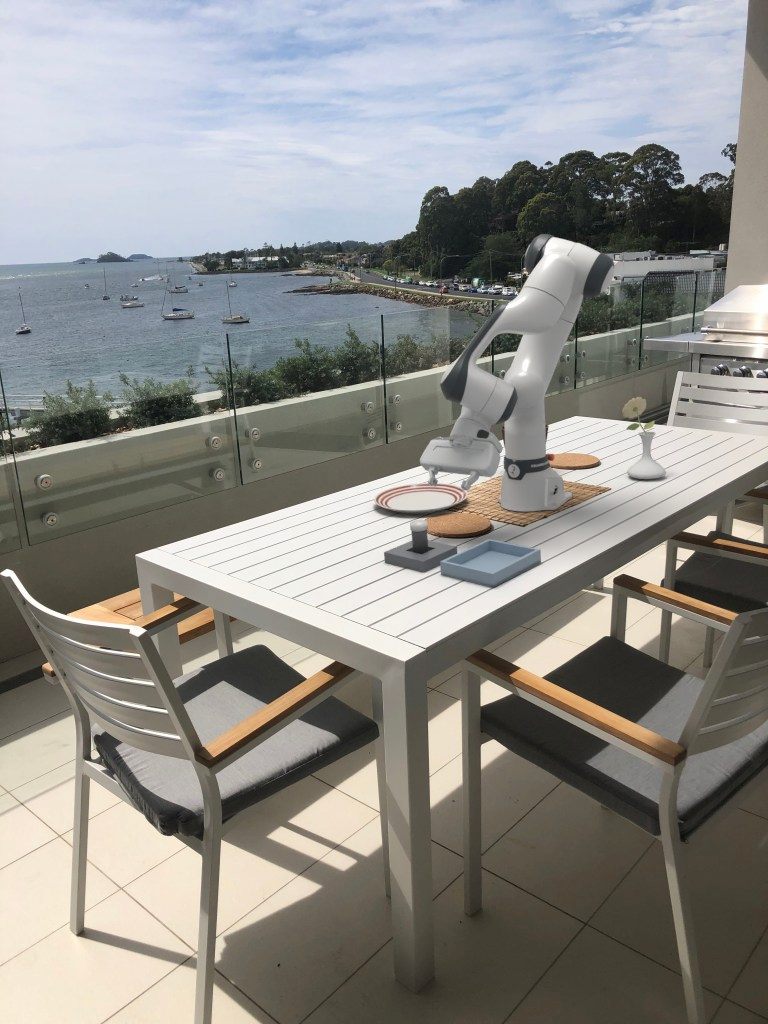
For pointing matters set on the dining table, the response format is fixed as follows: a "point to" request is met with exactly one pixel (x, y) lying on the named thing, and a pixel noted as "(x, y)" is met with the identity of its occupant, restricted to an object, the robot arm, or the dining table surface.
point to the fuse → (419, 536)
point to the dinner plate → (420, 498)
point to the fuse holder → (419, 556)
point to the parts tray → (490, 562)
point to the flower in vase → (646, 464)
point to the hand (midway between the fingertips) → (447, 487)
